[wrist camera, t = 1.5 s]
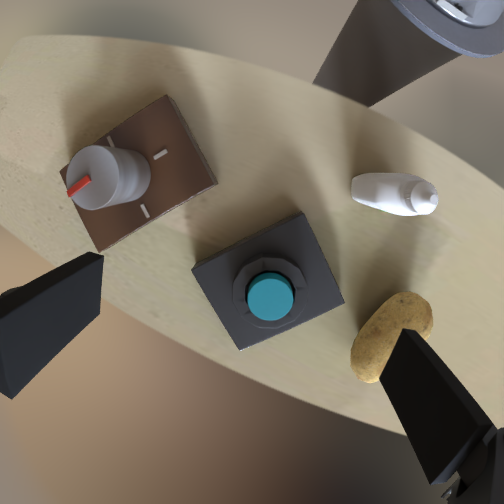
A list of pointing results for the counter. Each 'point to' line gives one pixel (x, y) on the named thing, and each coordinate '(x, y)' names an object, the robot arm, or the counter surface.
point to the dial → (106, 176)
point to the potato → (388, 333)
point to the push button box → (269, 261)
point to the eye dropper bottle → (395, 193)
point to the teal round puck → (270, 296)
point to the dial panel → (162, 172)
